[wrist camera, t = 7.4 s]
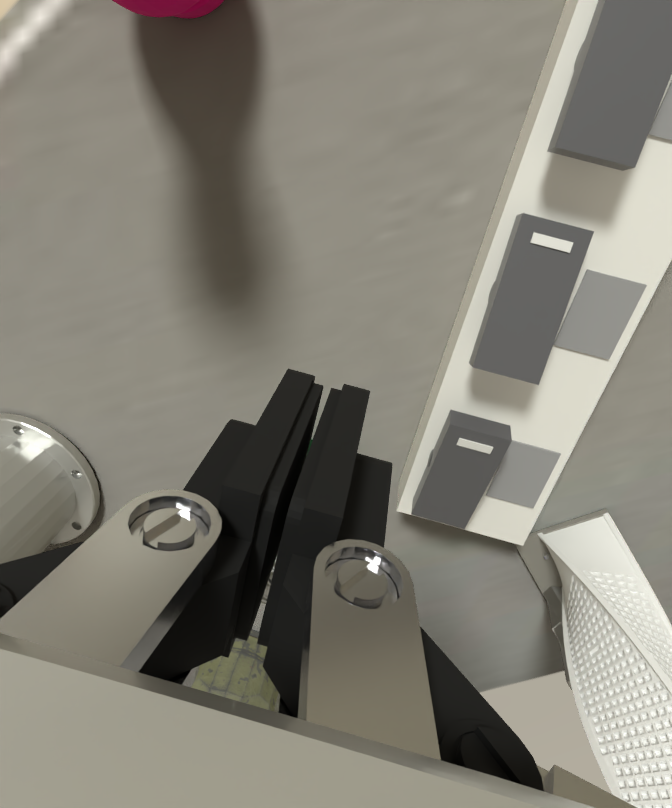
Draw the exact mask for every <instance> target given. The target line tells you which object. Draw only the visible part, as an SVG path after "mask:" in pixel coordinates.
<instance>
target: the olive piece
mask: <svg viewBox="0 0 672 808" xmlns="http://www.w3.org/2000/svg"><path fill="white" fill-rule="evenodd" d="M258 636H259V632H257V631H254V630H252V629H251V632H250V635H249V638H248V640H247V641H245V640H242V639H238V638H236V639H235V641H234V644H233V647H232V649H231V652H230V655H229V658H227V657H224V656H220V657H218V658H215V659H213V660H211V661H209V662H206V663H204V664H202V665H200V666H199V671H198V674H197V676H196V679H195V681H194V683H193V685H192V687H191V688H194V689H198V690H201V691H205V692H208V693H212V694H215V695H219V696H222V697H225V698H229V699H232V700H236V701H239V702H243V703H246V704H250V705H253V706H257V707H260V708H264V709H267V710H270V711H275V704H276V700H277V697H278V691H277V689H276V688H275V686H274V684H273V683H272V681H271V679H270V678H269V676H268V674H267V673H266V671H265V670H264V668H263V663H264V659H265V655H266V651H267V647H266V646H263V645H259V644H257V641H258Z"/></svg>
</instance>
